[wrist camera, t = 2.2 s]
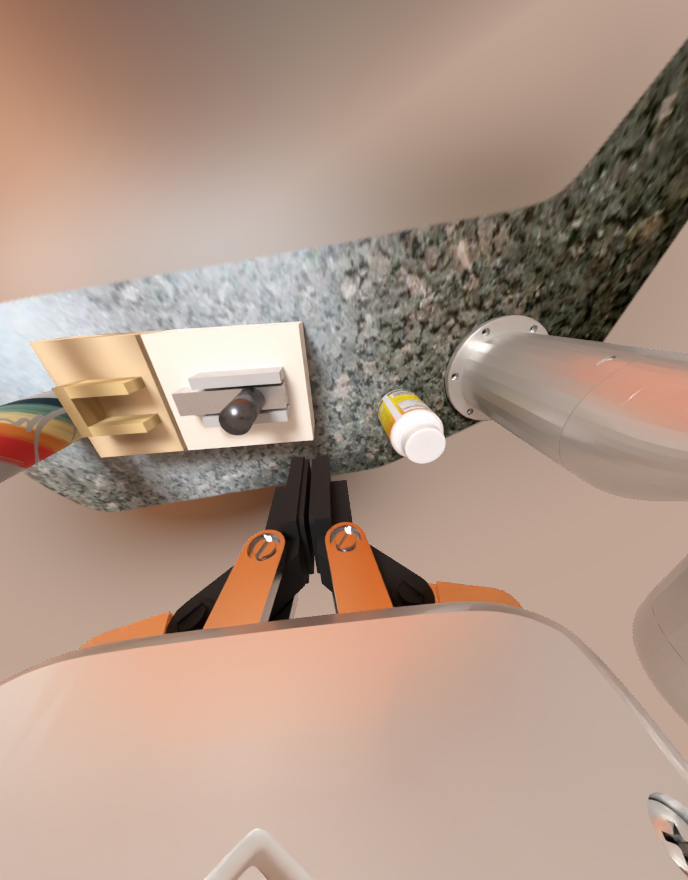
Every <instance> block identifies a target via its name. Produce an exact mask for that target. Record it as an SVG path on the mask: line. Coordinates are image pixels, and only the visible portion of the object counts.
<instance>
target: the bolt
mask: <svg viewBox="0 0 688 880" xmlns="http://www.w3.org/2000/svg"><path fill="white" fill-rule="evenodd" d="M171 395H172V397H173V400H174V402H175V404H176V407H177V409H178V412H179V414H180V416H191V415H204V414H217V413H220V414H219V423H220V426H221V427H222V428H223V429H224V430H225V431H226V432H227V433H229V434H232V435H243V434H246V433H247V432H248V431H249V430H250V428H251V427H252V425H253V423H254V422H255V420H256V418H257V417H258V415H259V413H260V412H261V410H269V409H282V408H286V407H287V404H288V395H287V389H286V383H285V380H283V381H282V382H281V383H277V384H263V385H250V386H236V387H223V388H209V389H195V390H191V387H184V388H181V389H179V390H177V391H176V392H174V393H172V394H171Z"/></svg>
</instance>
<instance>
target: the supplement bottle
mask: <svg viewBox="0 0 688 880" xmlns="http://www.w3.org/2000/svg"><path fill="white" fill-rule="evenodd" d="M377 413H378V418H379V420H380V422H381V424H382V426H383V428H384V430H385V432H386V434H387V436H388V438H389V440H390V442H391V444H392V446H393V448H394V449H395V451H396V452H397V453H398V454H400V455H402V456H404V457H407V458H408V459H409V460H411V461H412V462H414V463H418V464H425V463H429V462H432V461H434V460H435V459H437V458H438V457H439V456H440V455H441V454H442V452H443V451H444V449H445V444H446V441H445V437H444V435H443V425H442V422H441V420H440V419H439V417H438V416H437V415H436V414H435V413H434V412H433V411H432V410H431V409H429V408H428V407H427V406H426V405H425V404H424V403H423V402H422V401H421V400H420V399H419V398H418V397H417V396H416V395H415V394H413V393H412V392H410V391H408V390H404V389H398V390H394V391H391V392H389V393H388V394H386V395H385V396H384V397H383V398H382V400H381V401H380V403H379V406H378V411H377Z"/></svg>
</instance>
